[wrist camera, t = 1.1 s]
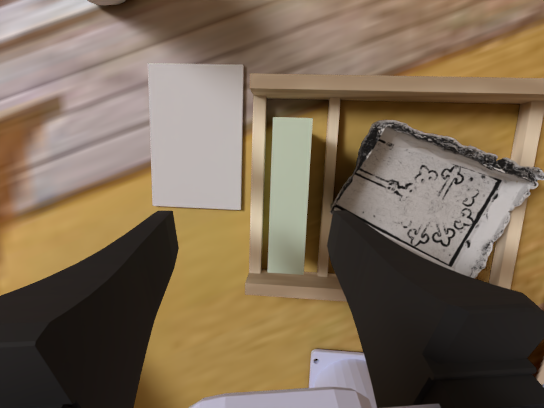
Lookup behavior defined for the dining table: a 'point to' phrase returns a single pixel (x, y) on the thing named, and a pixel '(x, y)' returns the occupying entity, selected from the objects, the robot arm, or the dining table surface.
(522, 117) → the birch rack
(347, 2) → the dining table surface
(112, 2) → the energy drink can
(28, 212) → the dining table surface
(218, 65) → the light gray panel
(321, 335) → the dining table surface
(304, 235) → the pale green block
